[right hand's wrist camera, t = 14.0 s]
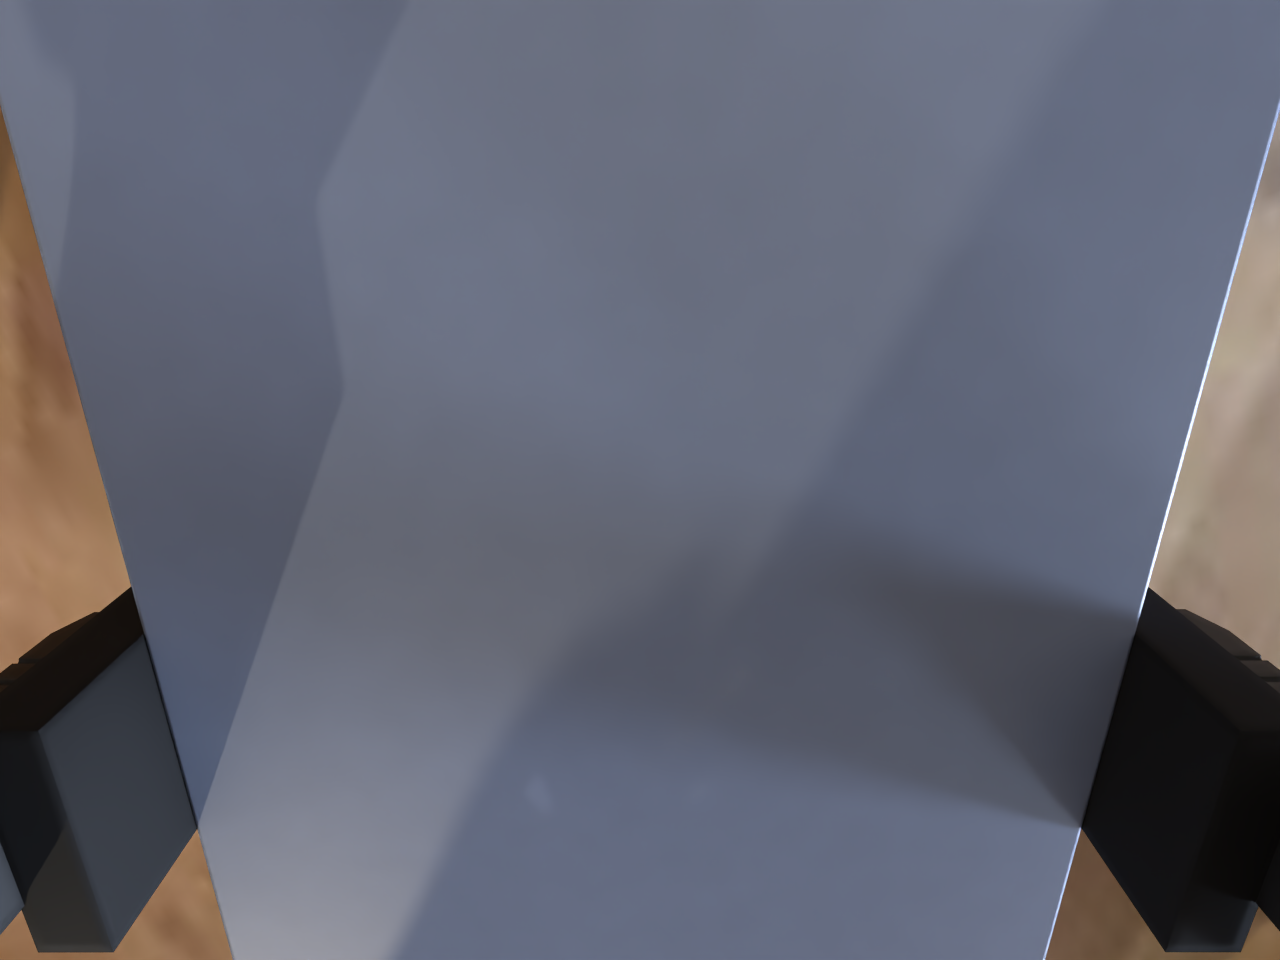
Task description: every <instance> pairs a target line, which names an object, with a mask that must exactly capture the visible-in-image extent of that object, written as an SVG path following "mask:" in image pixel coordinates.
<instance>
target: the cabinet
mask: <svg viewBox="0 0 1280 960" xmlns="http://www.w3.org/2000/svg"><path fill="white" fill-rule="evenodd" d="M0 106H1V110H2V113H3V117H4V121H5V124H6V128H7V132H8V135H9V139H10V143H11V146H12V150H13V154H14V157H15V161H16V165H17V168H18V172H19V176H20V179H21V183H22V187H23V190H24V194H25V198H26V201H27V205H28V209H29V212H30V216H31V220H32V223H33V227H34V231H35V234H36V238H37V242H38V245H39V249H40V253H41V256H42V260H43V264H44V267H45V271H46V275H47V278H48V282H49V286H50V289H51V293H52V297H53V300H54V304H55V308H56V311H57V315H58V319H59V322H60V326H61V330H62V333H63V337H64V341H65V345H66V348H67V352H68V356H69V359H70V363H71V367H72V370H73V374H74V378H75V381H76V385H77V389H78V392H79V396H80V400H81V403H82V407H83V411H84V414H85V418H86V422H87V425H88V429H89V433H90V436H91V440H92V444H93V447H94V451H95V455H96V458H97V462H98V466H99V469H100V473H101V477H102V480H103V484H104V488H105V491H106V495H107V499H108V502H109V506H110V510H111V513H112V517H113V521H114V524H115V528H116V532H117V535H118V539H119V543H120V546H121V550H122V554H123V557H124V561H125V565H126V568H127V572H128V576H129V579H130V583H131V587H132V590H133V594H134V598H135V602H136V605H137V609H138V613H139V616H140V620H141V624H142V627H143V631H144V635H145V638H146V642H147V646H148V649H149V653H150V657H151V660H152V664H153V668H154V671H155V675H156V679H157V682H158V686H159V690H160V693H161V697H162V701H163V704H164V708H165V712H166V715H167V719H168V723H169V726H170V730H171V734H172V737H173V741H174V745H175V748H176V752H177V756H178V759H179V763H180V767H181V770H182V774H183V778H184V781H185V785H186V789H187V792H188V796H189V800H190V803H191V807H192V811H193V814H194V818H195V822H196V825H197V829H198V833H199V836H200V840H201V844H202V847H203V851H204V855H205V859H206V862H207V866H208V870H209V873H210V877H211V881H212V884H213V888H214V892H215V895H216V899H217V903H218V906H219V910H220V914H221V917H222V921H223V925H224V928H225V932H226V936H227V939H228V943H229V947H230V950H231V954H232V958H233V960H1045V958H1046V954H1047V950H1048V947H1049V943H1050V939H1051V936H1052V932H1053V929H1054V925H1055V921H1056V918H1057V914H1058V911H1059V907H1060V903H1061V900H1062V896H1063V892H1064V889H1065V885H1066V882H1067V878H1068V874H1069V871H1070V867H1071V863H1072V860H1073V856H1074V853H1075V849H1076V845H1077V842H1078V838H1079V835H1080V831H1081V827H1082V824H1083V820H1084V816H1085V813H1086V809H1087V806H1088V802H1089V798H1090V795H1091V791H1092V787H1093V784H1094V780H1095V777H1096V773H1097V769H1098V766H1099V762H1100V758H1101V755H1102V751H1103V748H1104V744H1105V740H1106V737H1107V733H1108V730H1109V726H1110V722H1111V719H1112V715H1113V711H1114V708H1115V704H1116V701H1117V697H1118V693H1119V690H1120V686H1121V682H1122V679H1123V675H1124V672H1125V668H1126V664H1127V661H1128V657H1129V654H1130V650H1131V646H1132V643H1133V639H1134V635H1135V632H1136V628H1137V625H1138V621H1139V617H1140V614H1141V610H1142V606H1143V603H1144V599H1145V596H1146V592H1147V588H1148V585H1149V581H1150V578H1151V574H1152V570H1153V567H1154V563H1155V559H1156V556H1157V552H1158V549H1159V545H1160V541H1161V538H1162V534H1163V530H1164V527H1165V523H1166V520H1167V516H1168V512H1169V509H1170V505H1171V501H1172V498H1173V494H1174V491H1175V487H1176V483H1177V480H1178V476H1179V473H1180V469H1181V465H1182V462H1183V458H1184V454H1185V451H1186V447H1187V444H1188V440H1189V436H1190V433H1191V429H1192V425H1193V422H1194V418H1195V415H1196V411H1197V407H1198V404H1199V400H1200V397H1201V393H1202V389H1203V386H1204V382H1205V378H1206V375H1207V371H1208V368H1209V364H1210V360H1211V357H1212V353H1213V349H1214V346H1215V342H1216V339H1217V335H1218V331H1219V328H1220V324H1221V321H1222V317H1223V313H1224V310H1225V306H1226V302H1227V299H1228V295H1229V292H1230V288H1231V284H1232V281H1233V277H1234V273H1235V270H1236V266H1237V263H1238V259H1239V255H1240V252H1241V248H1242V245H1243V241H1244V237H1245V234H1246V230H1247V226H1248V223H1249V219H1250V216H1251V212H1252V208H1253V205H1254V201H1255V197H1256V194H1257V190H1258V187H1259V183H1260V179H1261V176H1262V172H1263V168H1264V165H1265V161H1266V158H1267V154H1268V150H1269V147H1270V143H1271V140H1272V136H1273V132H1274V129H1275V125H1276V121H1277V118H1278V114H1279V111H1280V0H0Z"/></svg>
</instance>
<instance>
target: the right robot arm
mask: <svg viewBox="0 0 1280 960" xmlns="http://www.w3.org/2000/svg"><path fill="white" fill-rule="evenodd" d="M1081 828H1082V830H1083V831H1084V832H1085V834H1086V835H1087V837H1088V838H1089V840H1090V841H1091V843H1092V844H1093V846H1094V847H1095V849H1096V850H1097V852H1098V853H1099V855H1100V856H1101V858H1102V859H1103V861H1104V862H1105V863H1106V865H1107V866H1108V868H1109V869H1110V871H1111V872H1112V874H1113V875H1114V877H1115V878H1116V880H1117V881H1118V883H1119V884H1120V886H1121V887H1122V889H1123V890H1124V892H1125V893H1126V894H1127V896H1128V897H1129V899H1130V900H1131V902H1132V903H1133V905H1134V906H1135V908H1136V909H1137V911H1138V912H1139V914H1140V915H1141V917H1142V918H1143V920H1144V921H1145V923H1146V924H1147V926H1148V927H1149V928H1150V930H1151V931H1152V933H1153V934H1154V936H1155V937H1156V939H1157V940H1158V942H1159V943H1160V945H1161V946H1162V948H1163V949H1164V951H1165V952H1241V950H1242V948H1243V945H1244V942H1245V940H1246V937H1247V935H1248V932H1249V929H1250V927H1251V924H1252V922H1253V919H1254V917H1255V914H1256V911H1257V909H1258V906H1259V907H1260V908H1261V910H1262V911H1263V912H1264V913H1265V914H1266V916H1267V917H1268V918H1269V919H1270V920H1271V921H1272V923H1273V924H1274V925H1275V926H1276V927H1277V929H1278V930H1279V931H1280V670H1279V669H1278V668H1276V667H1275V666H1274V665H1273V664H1271V663H1270V662H1269V661H1262V660H1261V655H1260V654H1258V653H1257V652H1256V651H1254V650H1253V649H1252V648H1251V647H1249V646H1248V645H1247V644H1245V643H1244V642H1243V641H1241V640H1240V639H1239V638H1238V637H1236V636H1235V635H1234V634H1232V633H1231V632H1230V631H1228V630H1226V629H1224V628H1222V627H1220V626H1218V625H1216V624H1214V623H1212V622H1210V621H1208V620H1206V619H1204V618H1202V617H1200V616H1198V615H1196V614H1194V613H1192V612H1190V611H1188V610H1186V609H1175V608H1174V607H1172V606H1171V605H1170V604H1169V603H1167V602H1166V601H1165V600H1164V599H1163V598H1161V597H1160V596H1159V595H1158V594H1156V593H1155V592H1154V591H1153V590H1151V589H1150V588H1149V587H1148V588H1147V592H1146V596H1145V599H1144V603H1143V606H1142V610H1141V614H1140V617H1139V621H1138V625H1137V628H1136V632H1135V635H1134V639H1133V643H1132V646H1131V650H1130V654H1129V657H1128V661H1127V664H1126V668H1125V672H1124V675H1123V679H1122V682H1121V686H1120V690H1119V693H1118V697H1117V701H1116V704H1115V708H1114V711H1113V715H1112V719H1111V722H1110V726H1109V730H1108V733H1107V737H1106V740H1105V744H1104V748H1103V751H1102V755H1101V758H1100V762H1099V766H1098V769H1097V773H1096V777H1095V780H1094V784H1093V787H1092V791H1091V795H1090V798H1089V802H1088V806H1087V809H1086V813H1085V816H1084V820H1083V824H1082V827H1081ZM196 830H197V825H196V822H195V818H194V814H193V811H192V807H191V803H190V800H189V796H188V792H187V789H186V785H185V781H184V778H183V774H182V770H181V767H180V763H179V759H178V756H177V752H176V748H175V745H174V741H173V737H172V734H171V730H170V726H169V723H168V719H167V715H166V712H165V708H164V704H163V701H162V697H161V693H160V690H159V686H158V682H157V679H156V675H155V671H154V668H153V664H152V660H151V657H150V653H149V649H148V646H147V642H146V638H145V635H144V631H143V627H142V624H141V620H140V616H139V613H138V609H137V605H136V602H135V598H134V594H133V590H132V587H130V588H129V589H128V590H126V591H125V592H124V593H123V594H121V595H120V596H119V597H118V598H117V599H115V600H114V601H113V602H112V603H110V604H109V605H108V606H107V607H105V608H104V609H103V610H102V611H100V612H94V613H92V614H90V615H88V616H86V617H84V618H82V619H80V620H78V621H76V622H74V623H72V624H70V625H68V626H65V627H63V628H61V629H59V630H57V631H55V632H53V633H51V634H50V635H49V636H47V637H46V638H45V639H44V640H42V641H41V642H40V643H38V644H37V645H36V646H35V647H33V648H32V649H31V650H29V651H28V652H27V653H26V654H24V655H23V656H22V657H20V658H19V662H18V664H11V665H10V666H9V667H8V668H6V669H5V670H4V671H2V672H1V673H0V934H1V933H2V932H3V931H4V930H5V928H6V927H7V926H8V925H9V924H10V923H11V921H12V920H13V919H14V918H15V917H16V915H17V914H18V913H19V912H20V911H21V909H22V912H23V914H24V917H25V920H26V922H27V925H28V927H29V930H30V932H31V935H32V938H33V940H34V943H35V945H36V948H37V950H38V952H114V951H115V949H116V948H117V946H118V945H119V943H120V942H121V940H122V939H123V938H124V936H125V935H126V933H127V932H128V930H129V929H130V927H131V926H132V924H133V923H134V921H135V920H136V918H137V917H138V915H139V914H140V912H141V911H142V909H143V908H144V907H145V905H146V904H147V902H148V901H149V899H150V898H151V896H152V895H153V893H154V892H155V890H156V889H157V887H158V886H159V884H160V883H161V881H162V880H163V878H164V877H165V876H166V874H167V873H168V871H169V870H170V868H171V867H172V865H173V864H174V862H175V861H176V859H177V858H178V856H179V855H180V853H181V852H182V850H183V849H184V847H185V846H186V845H187V843H188V842H189V840H190V839H191V837H192V836H193V834H194V833H195V831H196Z"/></svg>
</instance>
